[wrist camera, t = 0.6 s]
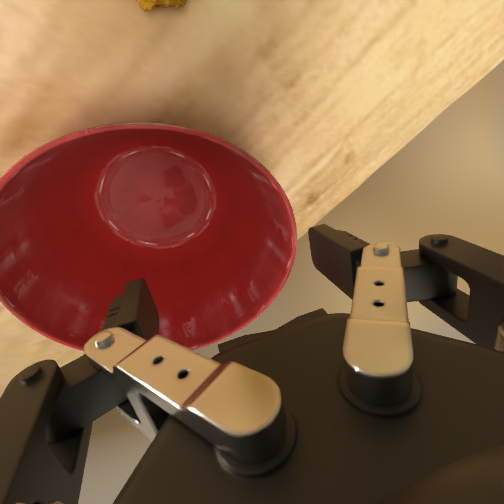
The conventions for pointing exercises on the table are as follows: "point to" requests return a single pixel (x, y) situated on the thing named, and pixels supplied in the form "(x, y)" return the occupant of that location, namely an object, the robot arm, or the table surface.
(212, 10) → the table surface
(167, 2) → the food
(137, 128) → the mixing bowl
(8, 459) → the robot arm
